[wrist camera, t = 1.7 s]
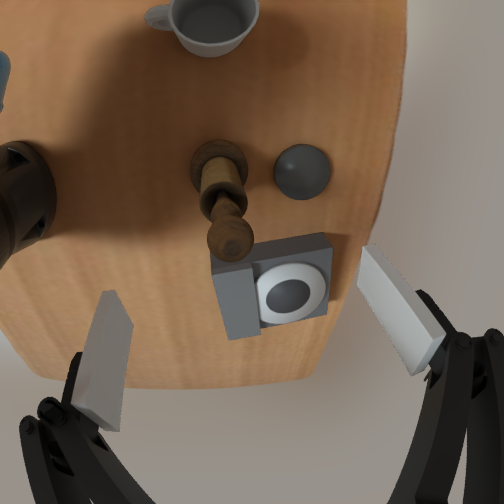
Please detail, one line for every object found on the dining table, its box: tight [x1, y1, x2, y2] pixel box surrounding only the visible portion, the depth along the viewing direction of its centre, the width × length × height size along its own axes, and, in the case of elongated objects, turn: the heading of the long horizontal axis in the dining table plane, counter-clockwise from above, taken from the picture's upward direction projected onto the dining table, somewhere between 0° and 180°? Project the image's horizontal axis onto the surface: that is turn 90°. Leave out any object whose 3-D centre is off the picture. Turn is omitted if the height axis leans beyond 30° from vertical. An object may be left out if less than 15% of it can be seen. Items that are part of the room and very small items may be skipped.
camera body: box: [210, 232, 333, 340], centre depth 40 cm, size 16×13×5 cm
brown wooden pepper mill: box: [190, 140, 254, 262], centre depth 24 cm, size 7×6×18 cm
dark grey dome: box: [274, 144, 330, 200], centre depth 33 cm, size 7×7×1 cm
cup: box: [144, 0, 259, 57], centre depth 18 cm, size 7×10×9 cm
